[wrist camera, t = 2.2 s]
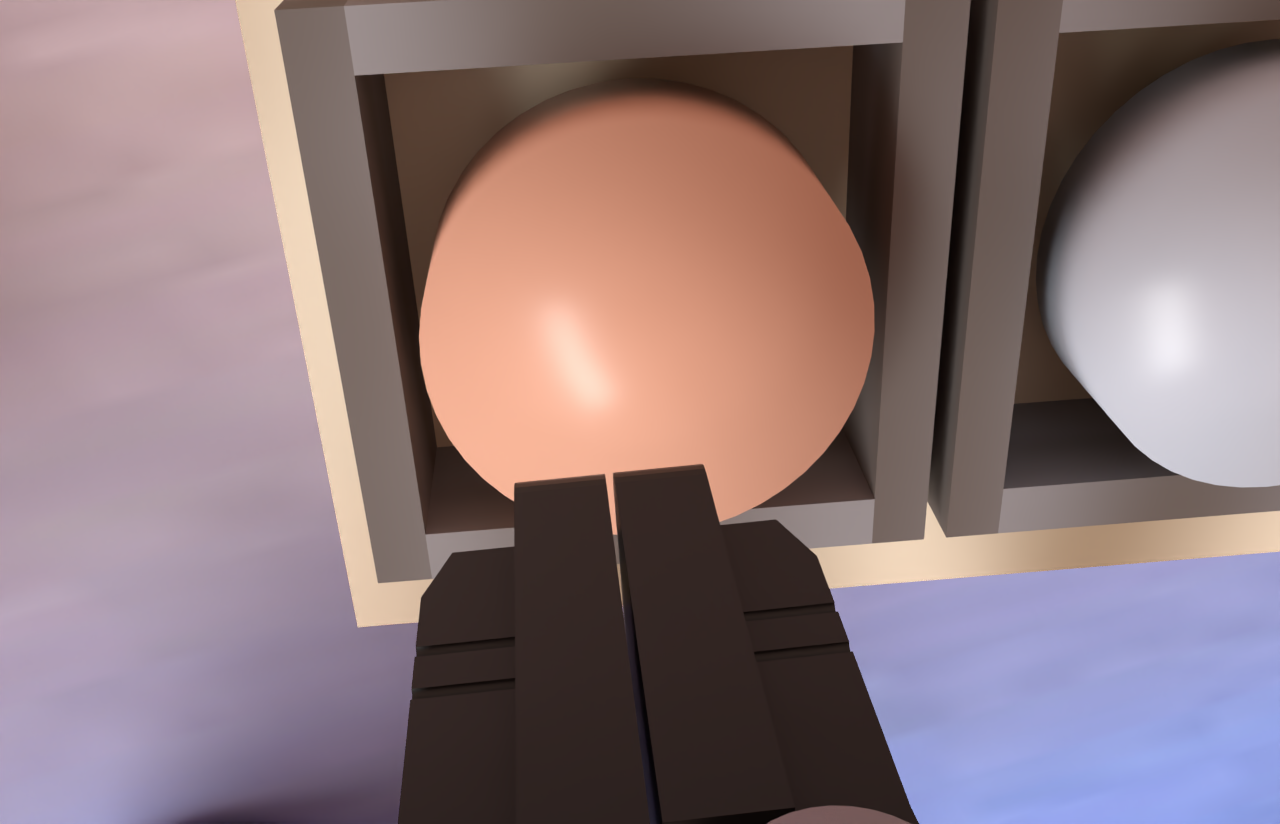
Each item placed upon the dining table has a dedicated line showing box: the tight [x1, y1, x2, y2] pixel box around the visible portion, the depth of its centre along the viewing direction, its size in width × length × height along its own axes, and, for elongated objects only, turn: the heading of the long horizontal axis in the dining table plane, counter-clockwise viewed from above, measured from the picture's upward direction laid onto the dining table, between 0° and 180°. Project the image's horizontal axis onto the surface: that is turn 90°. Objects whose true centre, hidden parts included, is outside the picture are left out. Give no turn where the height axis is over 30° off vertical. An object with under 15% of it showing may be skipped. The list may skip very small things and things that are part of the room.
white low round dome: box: [1036, 39, 1280, 488], centre depth 14 cm, size 5×5×2 cm
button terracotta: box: [419, 79, 875, 535], centre depth 14 cm, size 5×5×2 cm
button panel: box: [235, 0, 1280, 627], centre depth 17 cm, size 24×12×5 cm, turn 92°
